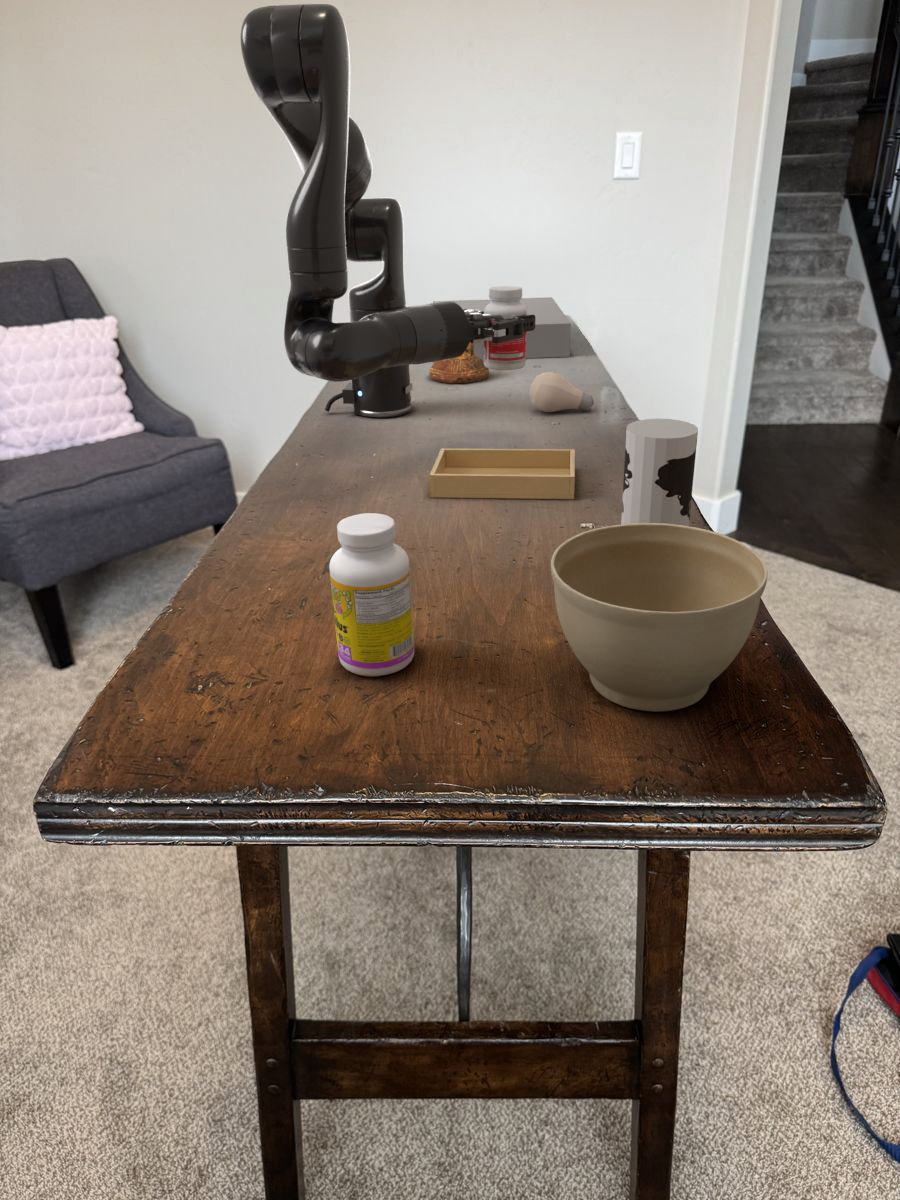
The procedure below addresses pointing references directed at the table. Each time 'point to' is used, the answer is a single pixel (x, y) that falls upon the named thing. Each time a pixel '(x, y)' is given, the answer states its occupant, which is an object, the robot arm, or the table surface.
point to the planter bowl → (656, 609)
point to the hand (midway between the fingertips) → (516, 319)
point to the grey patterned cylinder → (659, 471)
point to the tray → (504, 473)
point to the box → (548, 331)
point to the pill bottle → (511, 351)
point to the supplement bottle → (371, 597)
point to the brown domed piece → (460, 368)
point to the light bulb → (557, 394)
